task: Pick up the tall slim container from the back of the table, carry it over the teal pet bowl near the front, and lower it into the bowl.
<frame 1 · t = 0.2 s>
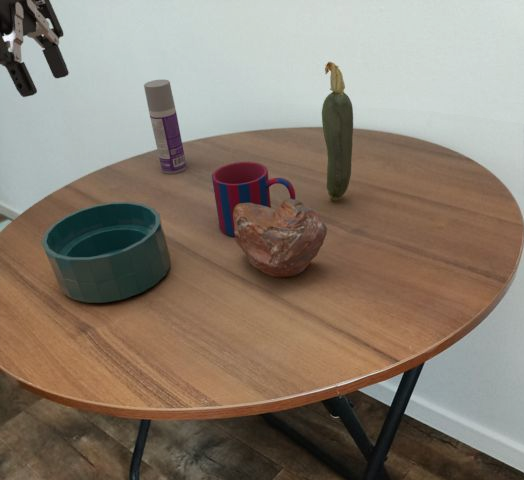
hand: (46, 85, 71), 21 cm above the table, tool pointing down, fingers open, 8 cm apart
container: (174, 169, 99), on the table
mug: (257, 227, 79), on the table
vegetable: (336, 203, 83), on the table
teal pet bowl: (116, 273, 72), on the table
stone: (274, 275, 69), on the table
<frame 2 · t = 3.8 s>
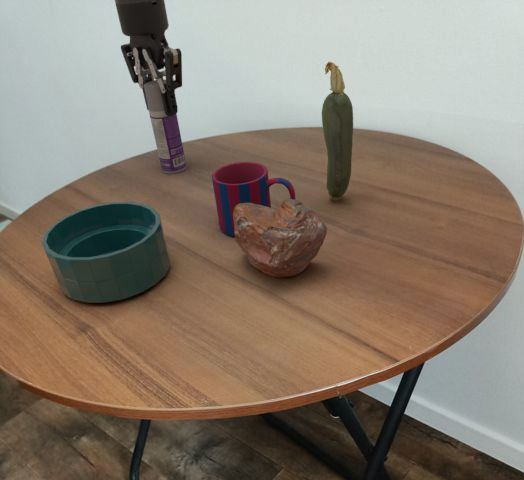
hand: (162, 111, 92), 10 cm above the table, tool pointing down, fingers closed on container, 4 cm apart
container: (174, 169, 99), on the table, touching gripper
everything else where it was.
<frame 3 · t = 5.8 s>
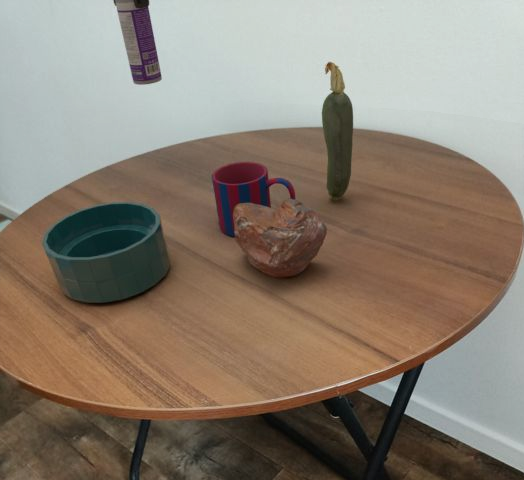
hand: (132, 5, 78), 27 cm above the table, tool pointing down, fingers closed on container, 4 cm apart
container: (148, 81, 85), point 16 cm above the table, touching gripper
everything else where it was.
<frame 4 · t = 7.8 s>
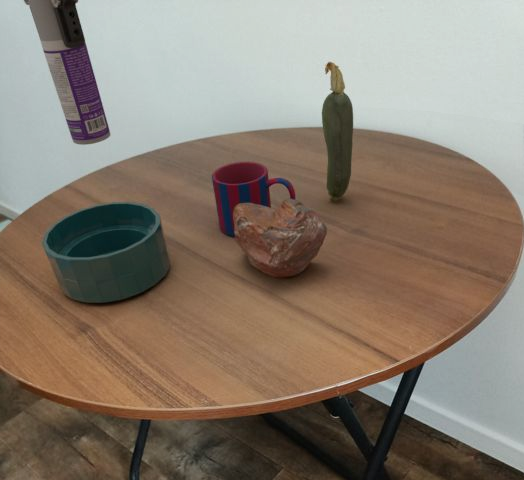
hand: (63, 43, 58), 27 cm above the table, tool pointing down, fingers closed on container, 4 cm apart
container: (92, 139, 65), point 17 cm above the table, touching gripper
everything else where it was.
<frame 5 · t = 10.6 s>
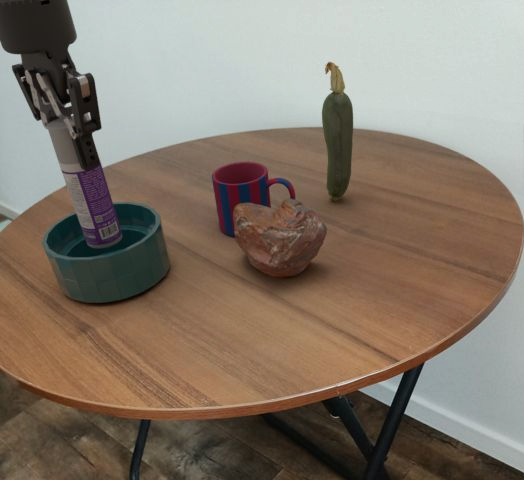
hand: (79, 162, 62), 16 cm above the table, tool pointing down, fingers closed on container, 4 cm apart
container: (105, 240, 69), point 5 cm above the table, touching gripper
everything else where it was.
when the fingers open (11 cm above the table, at t = 12.3 s): container stays where it is, resting on teal pet bowl.
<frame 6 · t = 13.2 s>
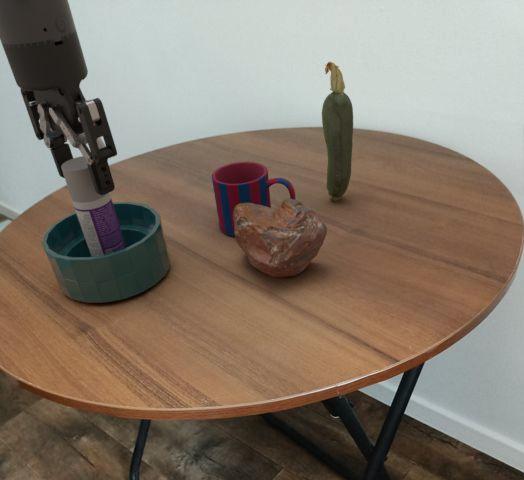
hand: (87, 183, 64), 13 cm above the table, tool pointing down, fingers open, 8 cm apart
container: (115, 270, 72), resting on teal pet bowl
everything else where it was.
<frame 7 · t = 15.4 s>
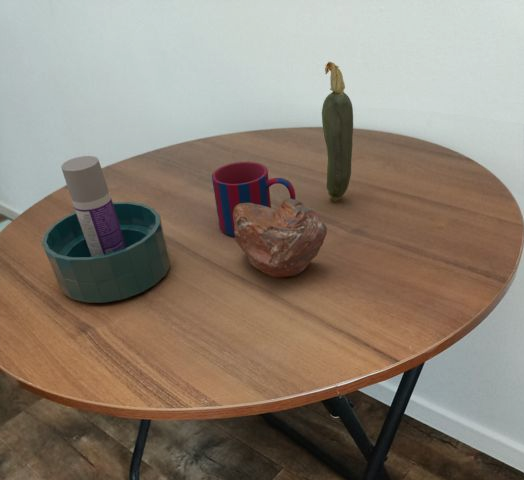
nothing on the table moved.
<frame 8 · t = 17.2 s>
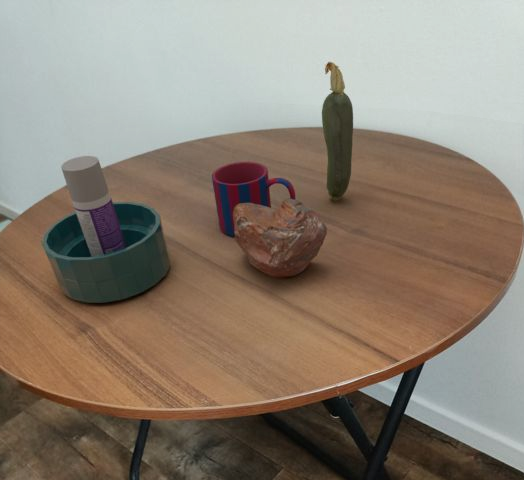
nothing on the table moved.
at the end: container inside the target area in the teal pet bowl (0.2 cm from its centre), point 0.4 cm above the teal pet bowl's base; the gripper is holding nothing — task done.
